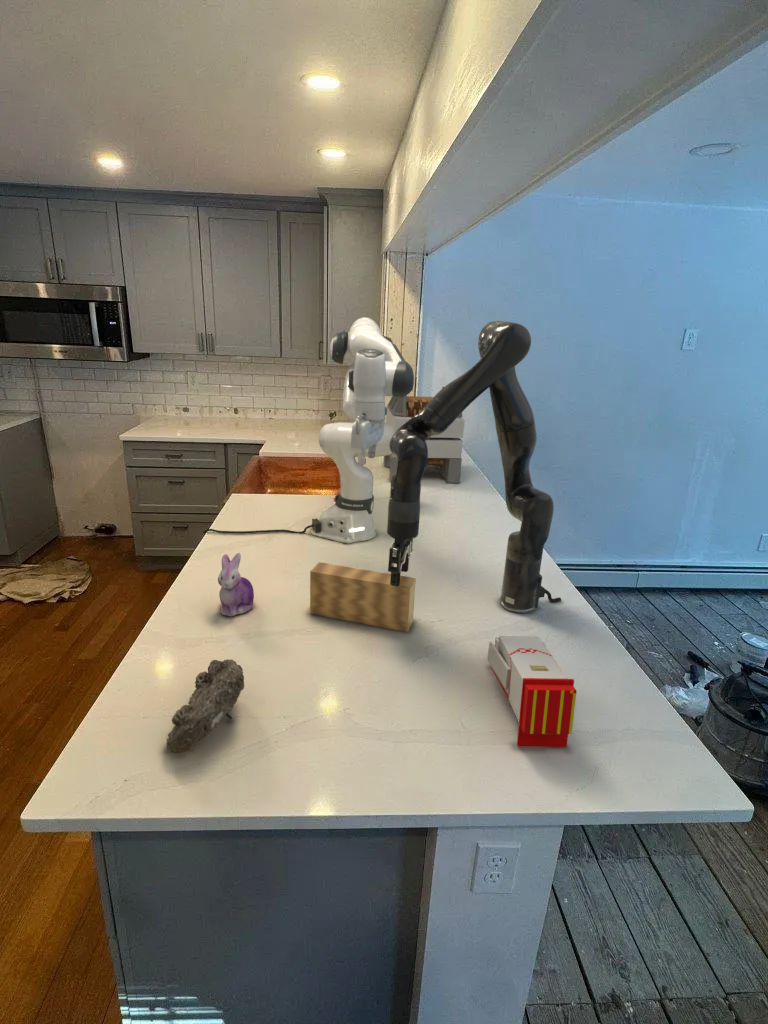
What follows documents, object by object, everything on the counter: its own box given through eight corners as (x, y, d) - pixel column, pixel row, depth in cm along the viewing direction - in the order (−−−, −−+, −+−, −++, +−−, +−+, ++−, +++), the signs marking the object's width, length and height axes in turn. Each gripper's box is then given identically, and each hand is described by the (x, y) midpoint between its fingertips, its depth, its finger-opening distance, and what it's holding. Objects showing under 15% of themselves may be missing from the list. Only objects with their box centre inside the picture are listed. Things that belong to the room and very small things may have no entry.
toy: (536, 619, 129) (586, 686, 99) (531, 673, 131) (578, 754, 102) (483, 618, 128) (517, 685, 99) (479, 672, 131) (511, 753, 102)
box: (310, 613, 146) (310, 571, 142) (318, 603, 151) (318, 562, 147) (407, 632, 140) (410, 588, 135) (413, 620, 145) (415, 578, 141)
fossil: (192, 660, 117) (244, 628, 112) (224, 691, 120) (276, 661, 115) (142, 746, 98) (202, 712, 93) (182, 779, 101) (242, 748, 96)
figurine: (223, 621, 140) (219, 566, 135) (214, 602, 149) (210, 550, 144) (260, 613, 144) (258, 559, 139) (250, 595, 153) (247, 544, 148)
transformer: (382, 463, 289) (386, 382, 275) (445, 464, 293) (451, 384, 279) (390, 482, 257) (394, 392, 243) (460, 483, 261) (468, 394, 247)
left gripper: (369, 417, 143) (367, 470, 148) (388, 407, 162) (386, 455, 167) (345, 415, 145) (344, 468, 149) (367, 406, 164) (366, 453, 168)
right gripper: (412, 528, 126) (407, 593, 131) (425, 508, 139) (420, 568, 144) (379, 523, 128) (376, 587, 133) (395, 504, 141) (392, 564, 146)
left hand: (366, 461), depth 158 cm, fingers open, 8 cm apart
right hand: (399, 578), depth 139 cm, fingers open, 8 cm apart
